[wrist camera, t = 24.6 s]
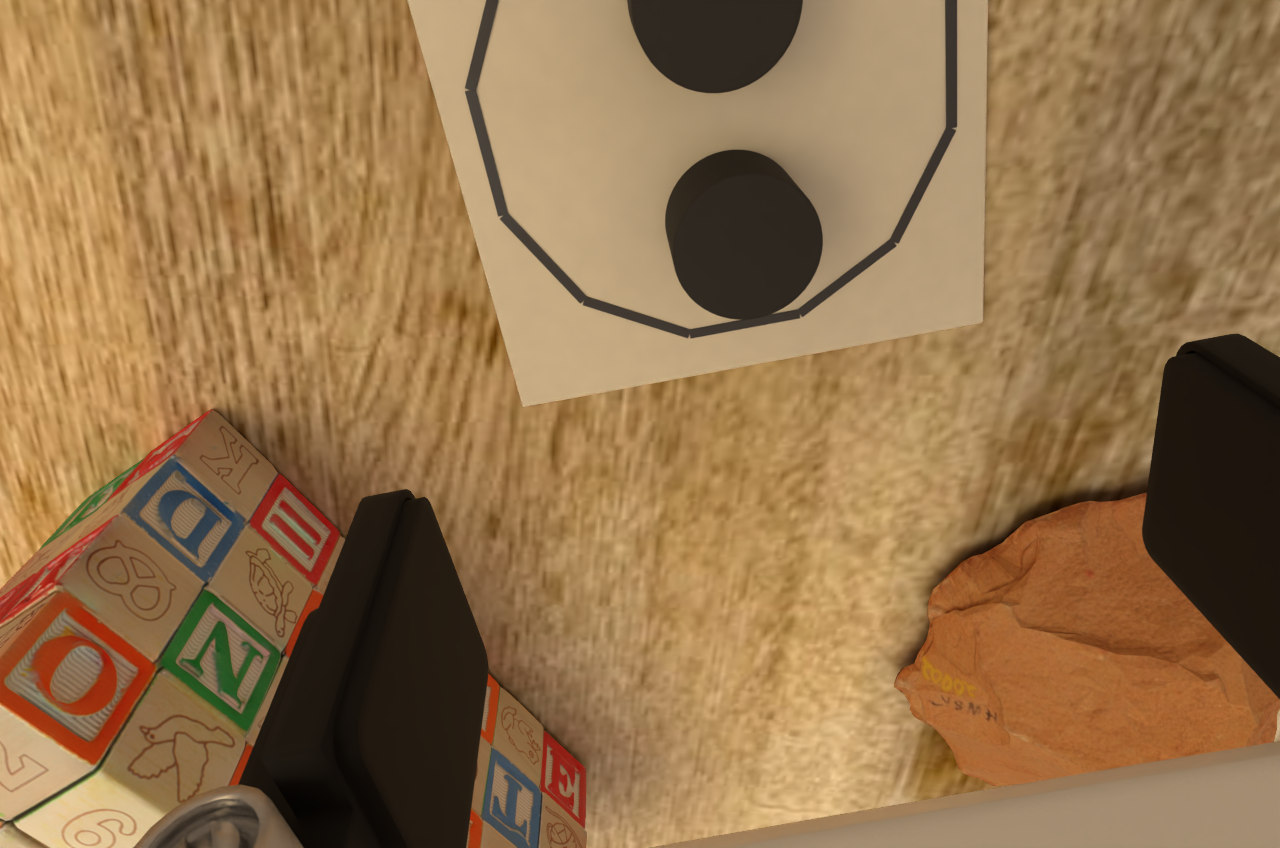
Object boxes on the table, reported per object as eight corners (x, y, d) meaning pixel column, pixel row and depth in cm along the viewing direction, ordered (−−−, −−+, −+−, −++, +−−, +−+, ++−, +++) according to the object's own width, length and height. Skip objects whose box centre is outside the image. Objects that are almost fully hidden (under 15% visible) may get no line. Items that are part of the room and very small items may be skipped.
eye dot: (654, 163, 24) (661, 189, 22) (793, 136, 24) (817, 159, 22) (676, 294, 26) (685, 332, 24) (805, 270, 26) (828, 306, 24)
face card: (359, -177, 21) (355, -179, 20) (988, -316, 20) (994, -320, 19) (523, 403, 28) (522, 408, 28) (979, 319, 28) (984, 324, 27)
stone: (887, 727, 40) (872, 882, 31) (922, 422, 36) (918, 496, 27) (1260, 803, 35) (1373, 1012, 26) (1344, 466, 32) (1511, 572, 23)
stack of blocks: (592, 764, 37) (590, 1101, 26) (477, 821, 38) (430, 1162, 28) (210, 402, 28) (-35, 690, 17) (79, 496, 29) (-222, 815, 19)
